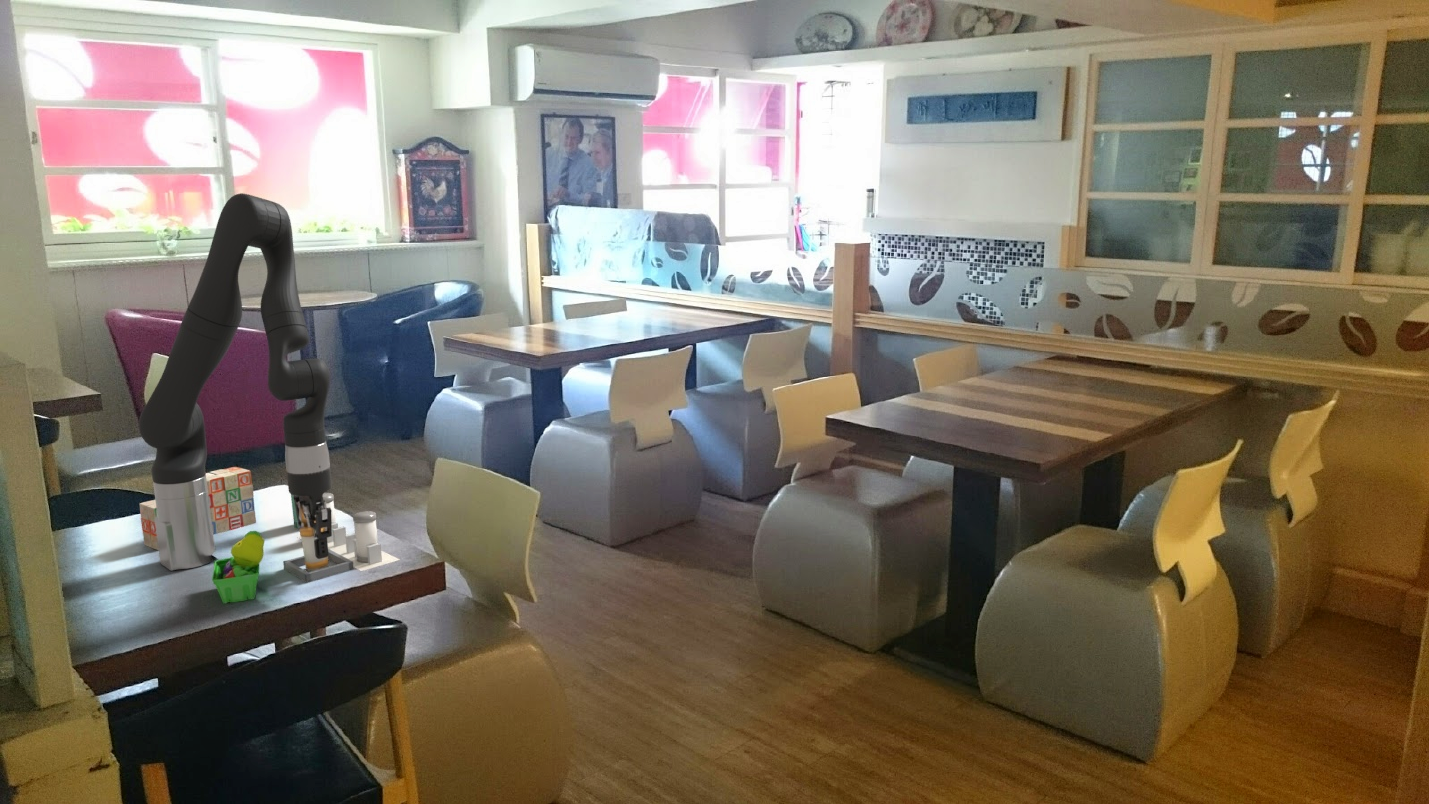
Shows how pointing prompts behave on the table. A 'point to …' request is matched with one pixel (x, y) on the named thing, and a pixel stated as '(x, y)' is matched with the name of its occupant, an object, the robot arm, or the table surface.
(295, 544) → the table surface
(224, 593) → the fruit basket
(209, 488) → the stack of blocks
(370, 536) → the fuse right
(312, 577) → the tray
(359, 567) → the fuse strip
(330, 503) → the fuse left
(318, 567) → the fuse marked
